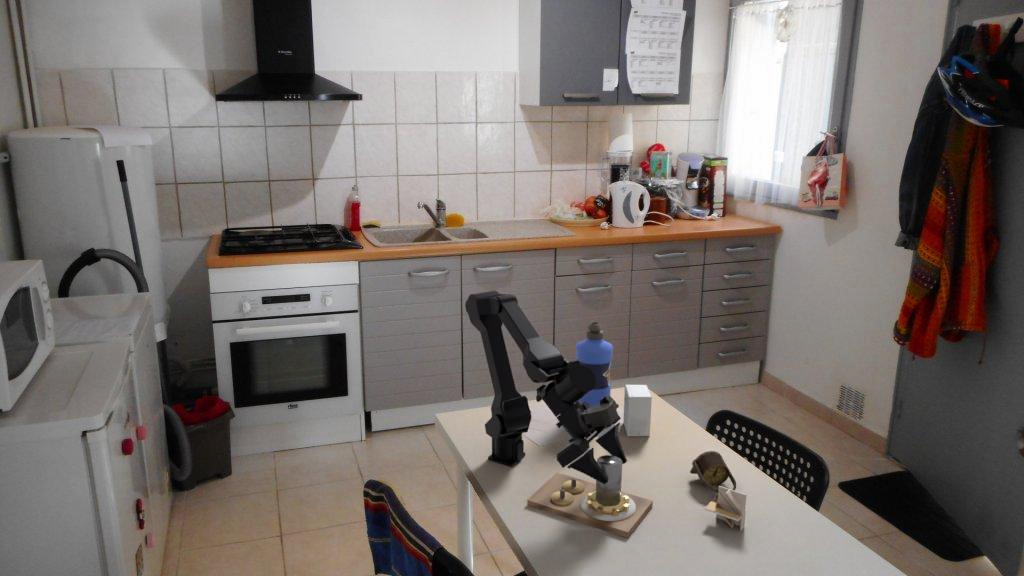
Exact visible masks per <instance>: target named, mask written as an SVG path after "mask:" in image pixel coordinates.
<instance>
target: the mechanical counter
mask: <svg viewBox="0 0 1024 576" xmlns="http://www.w3.org/2000/svg"><path fill="white" fill-rule="evenodd" d="M691 465H692V467H691V469H690V471H689V473H690V474H691V475H692V474H695V475H697V476H698V479H699V480H700V482H701V483H702V485H703V486H705V487H706V488H707V489H709V490H711V491H713V492H714V493H716V494H715V496H714V497H715V499H716V500H717V501H718V490H719V486H721V485H722V484H724V483H725V482H726V481H727V480H728V479H730V482H731V483H732V486H733V487H732V488H731V490H734V491H736V489H737V482H736V479H735V477H734V476H733V474H732V472H731V471H730V469H729V467H728V465H727V464H726V461H725V460H724V458H723V456H722V455H721V454H720V453H719V452H718V451H715V450H709V451H705V452H702V453H701V454H700V455H698V456H697V457H696V458H695V459H693V461H692V462H691Z"/></svg>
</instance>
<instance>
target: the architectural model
mask: <svg viewBox="0 0 1024 576" xmlns="http://www.w3.org/2000/svg"><path fill="white" fill-rule="evenodd" d="M718 489H719V490H718V493H717V494H718V500H717V499H716V500H715V501H709V503H708V504H707V505H706V506H705V507H704V511H707V512H710V513H713V514H716V515H715V518H716V519H719V520H722V521H725V522H726V524H728V527H730V528H732V529H733V528H734V526H739V532H742V531H743V529H744V528H745V523H746V512H747V511H746V505H747V504H746V503H747V502H746V501H747V494H746V493H743V492H739V491H737V490H735V491H734V490H732V488H731V489H730V488H729V487H725V486H721V485H718Z"/></svg>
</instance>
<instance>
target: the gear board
mask: <svg viewBox="0 0 1024 576" xmlns="http://www.w3.org/2000/svg"><path fill="white" fill-rule="evenodd" d="M595 492H596V483H593V482H591V481H587V480H583V479H580V478H577V477H574V476H570V475H567V474H562V473H560V472H556V473H554V474H553V476H552V477H551V478H549V479H547V481H546V482H545V483H544V484H543V485H542V486H541V487H540V488H538V489H537V490H536V491H535V492H534V493H533V494H532V495H531V496H530V497H529V498H528V499H527V500H526V505H527V506H528V507H531V508H535V509H538V510H541V511H545V512H548V513H550V514H553V515H557V516H560V517H562V518H566V519H569V520H571V521H574V522H578V523H580V524H584V525H588V526H590V527H593V528H597V529H600V530H603V531H606V532H608V533H611V534H615V535H618V536H621V537H624V538H626V539H628V538H629V537H630V536H631V535H632V533H633V531H634V530H635V529H636V528H637V527H638V525H639V524H640V523H641V522H642V520H643V519H644V517H645V516H646V515H647V514H648V512H649V511H650V510H651V509H652V507H653V503H654V502H653V501H654V500H652V499H649V498H645V497H643V496H642V497H641V496H638V495H635V494H632V493H629V492H624V491H621V494H622V495H623V496H628V497H629V510H628V511H627V512H624V511H623V512H621V513H619V514H618V516H616V517H613V516H612V515H606V514H603V515H602V516H600V515H597V514H596V511H594V510H593V509H588V508H587V501H588V500H587V495H588V494H589V493H595Z"/></svg>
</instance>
